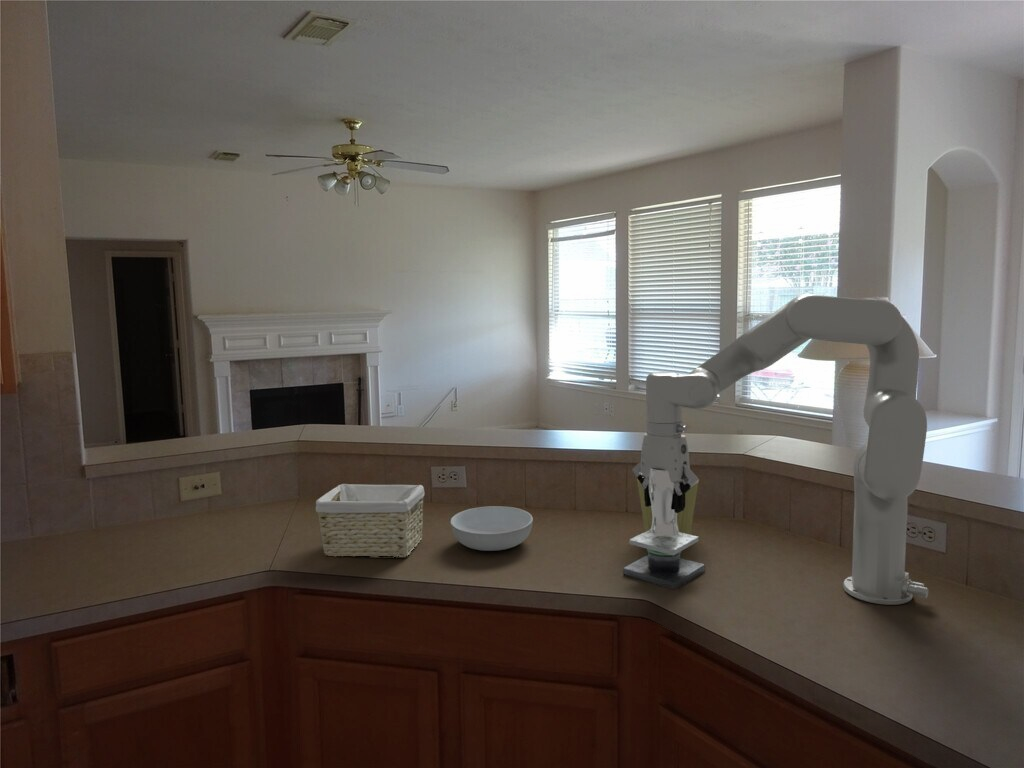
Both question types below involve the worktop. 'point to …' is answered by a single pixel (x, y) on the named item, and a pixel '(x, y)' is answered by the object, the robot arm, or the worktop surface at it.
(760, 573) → the worktop surface
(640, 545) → the metal stand
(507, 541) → the serving bowl
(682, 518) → the potted cactus
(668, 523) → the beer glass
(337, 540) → the storage basket
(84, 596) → the worktop surface
